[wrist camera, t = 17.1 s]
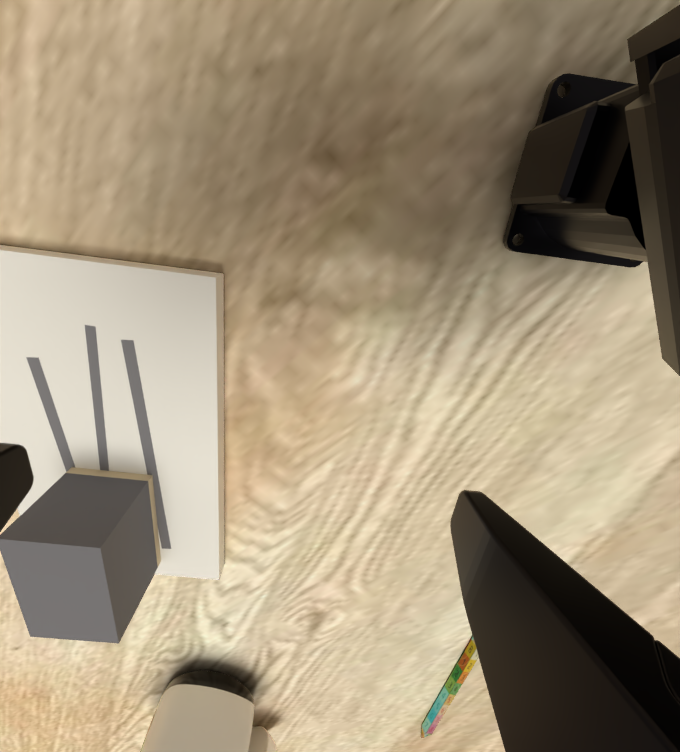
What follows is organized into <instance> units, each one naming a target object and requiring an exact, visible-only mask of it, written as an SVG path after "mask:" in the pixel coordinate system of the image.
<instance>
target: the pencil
mask: <svg viewBox="0 0 680 752" xmlns="http://www.w3.org/2000/svg"><path fill="white" fill-rule="evenodd" d="M478 658H479V656H478V652H477V649H476V645H475V642H474V638H473V636H472V639H471V640H470V642H469V644H468V645H467V647H466V649H465V651H464V652H463V654H462V656H461V658H460V659H459V661H458V663H457V665H456V666H455V668H454V670H453V672H452V673H451V675H450V677H449V679H448V680H447V682H446V684H445V685H444V687H443V689H442V691H441V692H440V694H439V696H438V698H437V699H436V701H435V703H434V705H433V706H432V708H431V710H430V712H429V713H428V715H427V717H426V718H425V720H424V722H423V724H422V730H421V738H423V737H426V736H428V735H431V734H432V733H433V731H434V730H435V728H436V726H437V725H438V723H439V722H440V720H441V718H442V717H443V715H444V713H445V712H446V710H447V708H448V707H449V705H450V703H451V702H452V700H453V699H454V697H455V695H456V694H457V692H458V690H459V689H460V687H461V685H462V684H463V682H464V681H465V679H466V677H467V676H468V674H469V672H470V671H471V669H472V667H473V666H474V664H475V663H476V661H477V659H478Z"/></svg>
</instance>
